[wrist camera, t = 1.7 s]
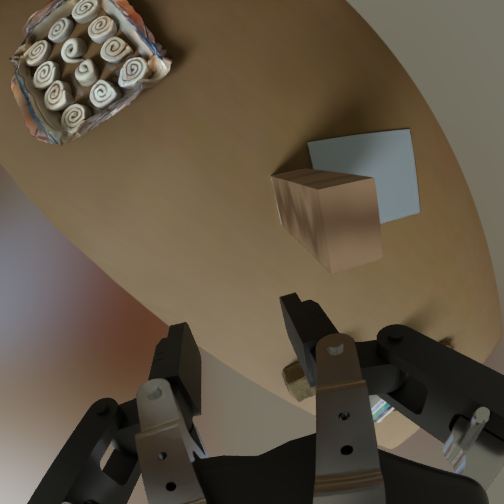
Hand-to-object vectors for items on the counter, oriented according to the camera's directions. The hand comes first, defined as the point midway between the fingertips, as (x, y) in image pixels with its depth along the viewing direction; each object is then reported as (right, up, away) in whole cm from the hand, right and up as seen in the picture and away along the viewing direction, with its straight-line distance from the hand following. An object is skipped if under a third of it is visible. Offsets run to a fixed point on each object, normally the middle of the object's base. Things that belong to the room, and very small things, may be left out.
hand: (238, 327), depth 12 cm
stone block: (+12, -17, +37) cm, 42 cm away
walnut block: (+6, +11, +26) cm, 29 cm away
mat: (+18, +14, +27) cm, 35 cm away
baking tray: (-25, +32, +16) cm, 43 cm away
